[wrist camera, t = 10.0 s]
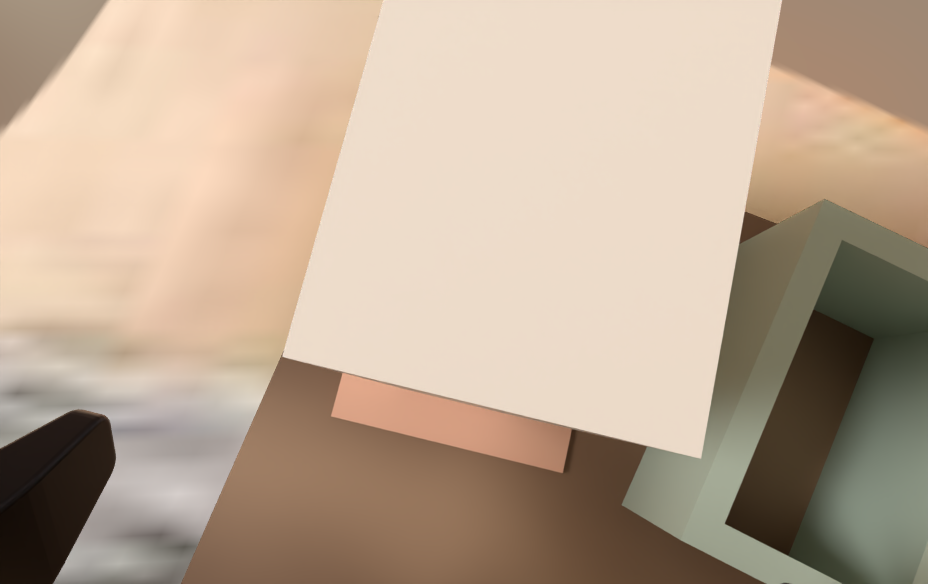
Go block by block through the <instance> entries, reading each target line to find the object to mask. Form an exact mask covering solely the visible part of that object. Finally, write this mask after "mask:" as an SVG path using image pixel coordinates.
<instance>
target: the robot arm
mask: <svg viewBox="0 0 928 584" xmlns="http://www.w3.org/2000/svg"><path fill="white" fill-rule="evenodd" d="M115 460H116V453H115V448H114V442H113V436H112V430H111V424H110V421H109V419H108V418H107V417H106V416H105V415H102V414H98V413H94V412H90V411H86V410H79V409H78V410H73V411H70V412H68V413H66V414H64V415H62V416H60V417H58V418H56V419H55V420H53V421H51V422H49V423H47V424H45V425H43V426H42V427H40V428H38V429H36V430H34V431H32V432H30V433H28V434H27V435H25V436H23V437H21V438H19V439H17V440H15V441H14V442H12V443H10V444H8V445H6V446H4V447H2V448H0V584H53V582H54V581H55V579H56V577H57V576H58V574H59V572H60V570H61V568H62V567H63V565H64V563H65V561H66V559H67V557H68V555H69V554H70V552H71V550H72V548H73V546H74V544H75V542H76V540H77V538H78V536H79V535H80V533H81V531H82V529H83V527H84V525H85V523H86V521H87V519H88V518H89V516H90V514H91V512H92V510H93V508H94V506H95V504H96V502H97V500H98V499H99V497H100V495H101V493H102V491H103V489H104V487H105V485H106V483H107V481H108V480H109V478H110V476H111V474H112V471H113V469H114V466H115ZM781 584H790V583H781Z"/></svg>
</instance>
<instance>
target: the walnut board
mask: <svg viewBox="0 0 928 584" xmlns="http://www.w3.org/2000/svg"><path fill="white" fill-rule="evenodd" d="M775 225H777V224H776V223H773V222H770V221H768V220H765V219H763V218H760V217H757V216H755V215H752V214H750V213H747V212H745V213H744V218H743V224H742V230H741V235H740V241H739V244H741V243H743V242H745V241H746V240H748V239H750V238H752V237H754V236H756V235H758V234H760V233H761V232H763V231H765V230H767V229H769V228H771V227H773V226H775ZM873 340H874V338H872V337H870V336H867V335H865V334H863V333H861V332H859V331H857V330H855V329H853V328H851V327H849V326H847V325H845V324H843V323H841V322H839V321H837V320H835V319H833V318H830V317H828V316H826V315H824V314H822V313H820V312H818V311H816V310H814V309H813V311H812V314H811V316H810V319H809V321H808V323H807V326H806V328H805V331H804V333H803V335H802V338H801V340H800V343H799V345H798V348H797V350H796V352H795V355H794V357H793V360H792V362H791V364H790V367H789V369H788V372H787V374H786V377H785V379H784V381H783V384H782V386H781V389H780V391H779V393H778V396H777V398H776V401H775V403H774V405H773V408H772V410H771V413H770V415H769V418H768V420H767V422H766V425H765V427H764V430H763V432H762V434H761V437H760V439H759V442H758V444H757V447H756V449H755V451H754V454H753V456H752V459H751V461H750V463H749V466H748V468H747V471H746V473H745V476H744V478H743V480H742V483H741V485H740V488H739V490H738V492H737V495H736V497H735V500H734V502H733V504H732V507H731V509H730V512H729V514H728V517H727V519H726V521H725V524H726V525H728V526H730V527H732V528H734V529H736V530H738V531H740V532H741V533H743V534H745V535H747V536H749V537H751V538H753V539H755V540H757V541H759V542H761V543H763V544H765V545H767V546H769V547H771V548H773V549H775V550H777V551H779V552H781V553H783V554H785V555H787V556H788V555H789V553H790V550H791V548H792V545H793V543H794V540H795V538H796V535H797V533H798V530H799V528H800V525H801V522H802V520H803V517H804V515H805V512H806V510H807V507H808V505H809V502H810V500H811V497H812V495H813V492H814V490H815V487H816V485H817V482H818V479H819V477H820V474H821V472H822V469H823V467H824V464H825V462H826V459H827V457H828V454H829V452H830V449H831V447H832V444H833V442H834V439H835V436H836V434H837V431H838V429H839V426H840V424H841V421H842V419H843V416H844V414H845V411H846V409H847V406H848V404H849V401H850V399H851V396H852V393H853V391H854V388H855V386H856V383H857V381H858V378H859V376H860V373H861V371H862V368H863V366H864V363H865V361H866V358H867V356H868V353H869V350H870V348H871V345H872V343H873ZM283 352H284V351H283ZM282 356H283V353H282ZM282 356H281V358H280V360H279V362H278V365H277V367H276V369H275V371H274V374H273V376H272V378H271V381H270V383H269V385H268V387H267V390H266V392H265V394H264V396H263V399H262V401H261V403H260V406H259V408H258V410H257V412H256V415H255V417H254V419H253V421H252V424H251V426H250V428H249V430H248V433H247V435H246V437H245V440H244V442H243V444H242V446H241V449H240V451H239V453H238V455H237V458H236V460H235V462H234V465H233V467H232V469H231V471H230V474H229V476H228V478H227V480H226V483H225V485H224V487H223V489H222V492H221V494H220V496H219V499H218V501H217V503H216V505H215V508H214V510H213V512H212V514H211V517H210V519H209V521H208V524H207V526H206V528H205V530H204V533H203V535H202V537H201V539H200V542H199V544H198V546H197V548H196V551H195V553H194V555H193V558H192V560H191V562H190V564H189V567H188V569H187V571H186V573H185V576H184V578H183V580H182V582H181V584H766V583H764V582H762V581H760V580H758V579H756V578H754V577H752V576H750V575H748V574H746V573H744V572H742V571H740V570H738V569H736V568H734V567H732V566H730V565H729V564H727V563H725V562H723V561H721V560H719V559H717V558H715V557H713V556H711V555H709V554H707V553H705V552H703V551H701V550H699V549H697V548H695V547H693V546H691V545H689V544H687V543H685V542H683V541H681V540H680V539H678V538H676V537H674V536H673V535H671V534H669V533H668V532H666V531H664V530H663V529H661V528H659V527H658V526H656V525H654V524H653V523H651V522H649V521H648V520H646V519H644V518H643V517H641V516H639V515H638V514H636V513H634V512H633V511H631V510H629V509H628V508H626V507H624V506H622V503H623V500H624V498H625V496H626V494H627V491H628V489H629V487H630V485H631V482H632V480H633V478H634V475H635V473H636V471H637V469H638V466H639V464H640V462H641V460H642V457H643V455H644V453H645V451H646V448H647V446H643V445H639V444H634V443H630V442H626V441H621V440H617V439H613V438H608V437H604V436H600V435H595V434H591V433H587V432H582V431H578V430H574V429H569V428H565V427H561V426H556V425H552V424H547V423H543V422H539V421H534V420H530V419H526V418H521V417H517V416H513V415H508V414H504V413H500V412H496V411H492V410H488V409H484V408H480V407H476V406H471V405H467V404H463V403H459V402H455V401H451V400H447V399H443V398H439V397H435V396H430V395H426V394H422V393H418V392H414V391H410V390H406V389H402V388H398V387H394V386H390V385H387V384H383V383H379V382H375V381H372V380H368V379H364V378H360V377H356V376H353V375H349V374H345V373H341V372H337V371H334V370H330V369H326V368H322V367H319V366H315V365H311V364H307V363H303V362H300V361H296V360H292V359H288V358H284V357H282Z"/></svg>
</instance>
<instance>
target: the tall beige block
mask: <svg viewBox="0 0 928 584" xmlns="http://www.w3.org/2000/svg"><path fill="white" fill-rule="evenodd" d="M781 3H782V0H383V4H382V7H381V11H380V15H379V18H378V22H377V25H376V29H375V32H374V36H373V39H372V43H371V46H370V50H369V53H368V57H367V60H366V64H365V67H364V71H363V74H362V78H361V81H360V85H359V88H358V92H357V95H356V99H355V102H354V106H353V109H352V113H351V116H350V120H349V124H348V127H347V131H346V134H345V138H344V141H343V145H342V148H341V152H340V155H339V159H338V162H337V166H336V169H335V173H334V176H333V180H332V183H331V187H330V190H329V194H328V197H327V201H326V204H325V208H324V211H323V215H322V218H321V222H320V225H319V229H318V233H317V236H316V240H315V243H314V247H313V250H312V254H311V257H310V261H309V264H308V268H307V271H306V275H305V278H304V282H303V285H302V289H301V292H300V296H299V299H298V303H297V306H296V310H295V313H294V317H293V320H292V324H291V327H290V331H289V334H288V338H287V342H286V345H285V349H284V352H283V356H282V357H284V358H288V359H292V360H296V361H300V362H303V363H307V364H311V365H315V366H319V367H322V368H326V369H330V370H334V371H337V372H341V373H345V374H349V375H353V376H356V377H360V378H364V379H368V380H372V381H375V382H379V383H383V384H387V385H390V386H394V387H398V388H402V389H406V390H410V391H414V392H418V393H422V394H426V395H430V396H435V397H439V398H443V399H447V400H451V401H455V402H459V403H463V404H467V405H471V406H476V407H480V408H484V409H488V410H492V411H496V412H500V413H504V414H508V415H513V416H517V417H521V418H526V419H530V420H534V421H539V422H543V423H547V424H552V425H556V426H561V427H565V428H569V429H574V430H578V431H582V432H587V433H591V434H595V435H600V436H604V437H608V438H613V439H617V440H621V441H626V442H630V443H634V444H639V445H643V446H647V447H652V448H656V449H661V450H665V451H669V452H674V453H678V454H682V455H687V456H691V457H695V458H700V459H701V456H702V450H703V445H704V439H705V433H706V428H707V422H708V416H709V411H710V405H711V399H712V394H713V388H714V382H715V377H716V371H717V365H718V360H719V354H720V348H721V343H722V337H723V331H724V326H725V320H726V314H727V309H728V303H729V297H730V292H731V286H732V280H733V275H734V269H735V263H736V258H737V252H738V246H739V241H740V235H741V230H742V224H743V218H744V213H745V207H746V201H747V196H748V190H749V184H750V179H751V173H752V167H753V162H754V156H755V150H756V145H757V139H758V133H759V128H760V122H761V116H762V111H763V105H764V99H765V94H766V88H767V82H768V77H769V71H770V65H771V60H772V53H773V48H774V42H775V37H776V31H777V26H778V20H779V14H780V9H781Z"/></svg>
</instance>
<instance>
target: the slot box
mask: <svg viewBox="0 0 928 584" xmlns="http://www.w3.org/2000/svg"><path fill="white" fill-rule="evenodd" d="M813 309H814V310H816V311H818V312H820V313H822V314H824V315H826V316H828V317H830V318H833V319H835V320H837V321H839V322H841V323H843V324H845V325H847V326H849V327H851V328H853V329H855V330H857V331H859V332H861V333H863V334H865V335H867V336H870V337H872V338H874V340H873V343H872V345H871V348H870V350H869V353H868V356H867V358H866V361H865V363H864V366H863V368H862V371H861V373H860V376H859V378H858V381H857V383H856V386H855V388H854V391H853V393H852V396H851V399H850V401H849V404H848V406H847V409H846V411H845V414H844V416H843V419H842V421H841V424H840V426H839V429H838V431H837V434H836V436H835V439H834V442H833V444H832V447H831V449H830V452H829V454H828V457H827V459H826V462H825V464H824V467H823V469H822V472H821V474H820V477H819V479H818V482H817V485H816V487H815V490H814V492H813V495H812V497H811V500H810V502H809V505H808V507H807V510H806V512H805V515H804V517H803V520H802V522H801V525H800V528H799V530H798V533H797V535H796V538H795V540H794V543H793V545H792V548H791V550H790V553H789V555H788V556H787V555H785V554H783V553H781V552H779V551H777V550H775V549H773V548H771V547H769V546H767V545H765V544H763V543H761V542H759V541H757V540H755V539H753V538H751V537H749V536H747V535H745V534H743V533H741V532H740V531H738V530H736V529H734V528H732V527H730V526H728V525H726V524H725V521H726V519H727V517H728V514H729V512H730V509H731V507H732V504H733V502H734V500H735V497H736V495H737V492H738V490H739V488H740V485H741V483H742V480H743V478H744V476H745V473H746V471H747V468H748V466H749V463H750V461H751V459H752V456H753V454H754V451H755V449H756V447H757V444H758V442H759V439H760V437H761V434H762V432H763V430H764V427H765V425H766V422H767V420H768V418H769V415H770V413H771V410H772V408H773V405H774V403H775V401H776V398H777V396H778V393H779V391H780V389H781V386H782V384H783V381H784V379H785V377H786V374H787V372H788V369H789V367H790V364H791V362H792V360H793V357H794V355H795V352H796V350H797V348H798V345H799V343H800V340H801V338H802V335H803V333H804V331H805V328H806V326H807V323H808V321H809V319H810V316H811V314H812V311H813ZM622 506H624V507H626V508H628V509H629V510H631V511H633V512H634V513H636V514H638V515H639V516H641V517H643V518H644V519H646V520H648V521H649V522H651V523H653V524H654V525H656V526H658V527H659V528H661V529H663V530H664V531H666V532H668V533H669V534H671V535H673V536H674V537H676V538H678V539H680V540H681V541H683V542H685V543H687V544H689V545H691V546H693V547H695V548H697V549H699V550H701V551H703V552H705V553H707V554H709V555H711V556H713V557H715V558H717V559H719V560H721V561H723V562H725V563H727V564H729V565H730V566H732V567H734V568H736V569H738V570H740V571H742V572H744V573H746V574H748V575H750V576H752V577H754V578H756V579H758V580H760V581H762V582H764V583H766V584H781V583H790V584H928V248H926V247H924V246H922V245H920V244H918V243H916V242H914V241H912V240H909V239H907V238H905V237H903V236H901V235H899V234H897V233H895V232H893V231H891V230H888V229H886V228H884V227H882V226H880V225H878V224H876V223H874V222H872V221H870V220H868V219H865V218H863V217H861V216H859V215H857V214H855V213H853V212H851V211H849V210H847V209H844V208H842V207H840V206H838V205H836V204H834V203H832V202H830V201H828V200H826V199H824V200H822V201H820V202H818V203H816V204H814V205H812V206H811V207H809V208H807V209H805V210H803V211H801V212H799V213H797V214H795V215H794V216H792V217H790V218H788V219H786V220H784V221H782V222H780V223H778V224H777V225H775V226H773V227H771V228H769V229H767V230H765V231H763V232H761V233H760V234H758V235H756V236H754V237H752V238H750V239H748V240H746V241H745V242H743V243H741V244H739V246H738V252H737V258H736V263H735V269H734V275H733V280H732V286H731V292H730V297H729V303H728V309H727V314H726V320H725V326H724V331H723V337H722V343H721V348H720V354H719V360H718V365H717V371H716V377H715V382H714V388H713V394H712V399H711V405H710V411H709V416H708V422H707V428H706V433H705V439H704V445H703V450H702V456H701V459H700V458H695V457H691V456H687V455H682V454H678V453H674V452H669V451H665V450H661V449H656V448H652V447H647V448H646V451H645V453H644V455H643V457H642V460H641V462H640V464H639V466H638V469H637V471H636V473H635V475H634V478H633V480H632V482H631V485H630V487H629V489H628V491H627V494H626V496H625V498H624V500H623V503H622Z"/></svg>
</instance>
